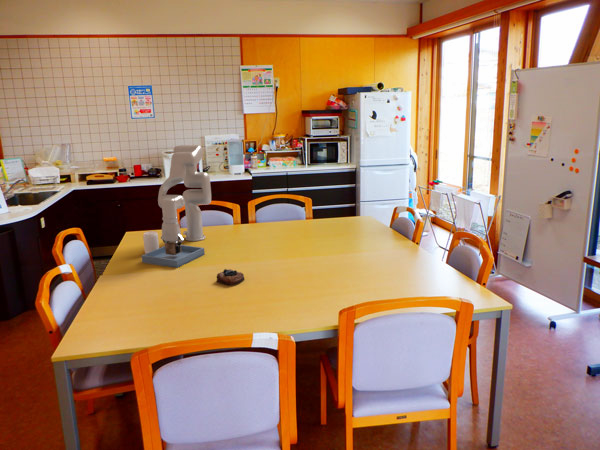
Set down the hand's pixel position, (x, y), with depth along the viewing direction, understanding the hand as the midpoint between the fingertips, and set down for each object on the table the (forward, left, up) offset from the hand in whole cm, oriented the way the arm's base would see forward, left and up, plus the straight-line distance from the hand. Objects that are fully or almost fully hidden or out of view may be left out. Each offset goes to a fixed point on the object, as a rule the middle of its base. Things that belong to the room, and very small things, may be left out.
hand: (173, 251), depth 264 cm
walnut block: (0, 0, -1) cm, 1 cm away
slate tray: (0, 0, -4) cm, 4 cm away
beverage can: (-19, +4, -4) cm, 20 cm away
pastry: (+48, -17, -5) cm, 52 cm away
